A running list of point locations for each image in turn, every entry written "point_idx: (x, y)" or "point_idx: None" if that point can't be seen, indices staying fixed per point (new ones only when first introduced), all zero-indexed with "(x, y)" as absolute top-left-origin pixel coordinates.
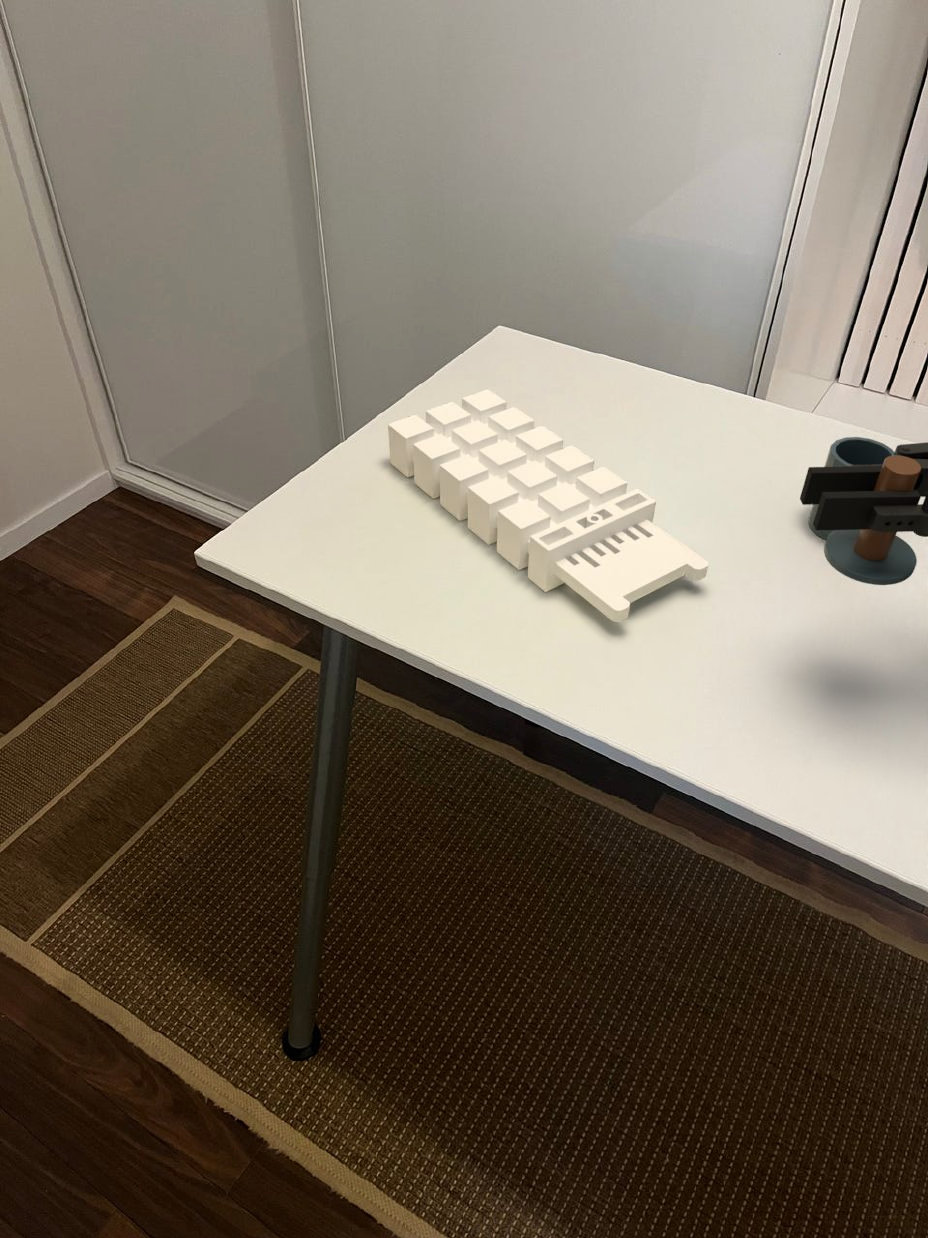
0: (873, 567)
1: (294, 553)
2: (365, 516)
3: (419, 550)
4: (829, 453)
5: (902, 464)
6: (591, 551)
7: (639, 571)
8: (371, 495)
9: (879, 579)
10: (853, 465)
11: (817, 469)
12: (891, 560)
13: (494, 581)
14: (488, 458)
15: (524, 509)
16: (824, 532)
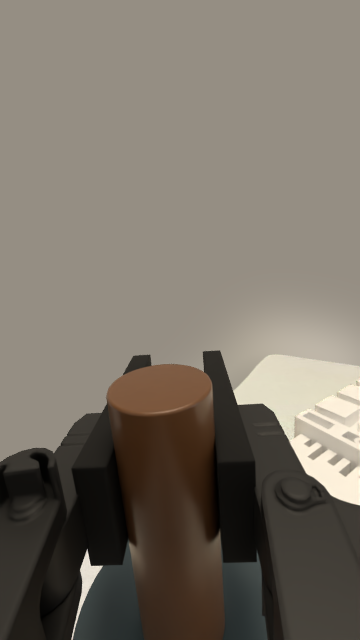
0: (124, 597)
1: (282, 368)
2: (328, 381)
3: (308, 398)
4: None
5: (160, 384)
6: (331, 455)
7: None
8: (351, 381)
9: (85, 599)
10: (269, 410)
11: (214, 355)
12: None
13: (294, 427)
14: None
15: (343, 405)
16: None
